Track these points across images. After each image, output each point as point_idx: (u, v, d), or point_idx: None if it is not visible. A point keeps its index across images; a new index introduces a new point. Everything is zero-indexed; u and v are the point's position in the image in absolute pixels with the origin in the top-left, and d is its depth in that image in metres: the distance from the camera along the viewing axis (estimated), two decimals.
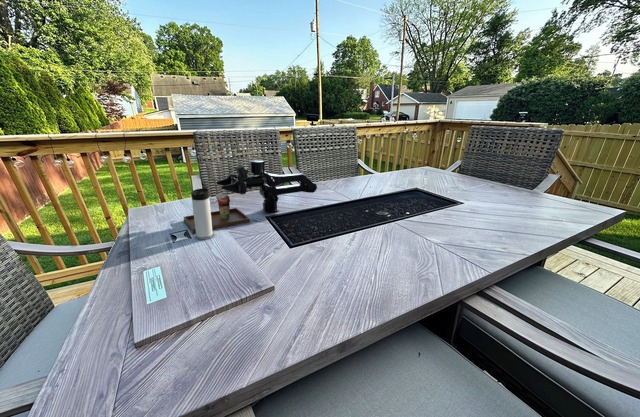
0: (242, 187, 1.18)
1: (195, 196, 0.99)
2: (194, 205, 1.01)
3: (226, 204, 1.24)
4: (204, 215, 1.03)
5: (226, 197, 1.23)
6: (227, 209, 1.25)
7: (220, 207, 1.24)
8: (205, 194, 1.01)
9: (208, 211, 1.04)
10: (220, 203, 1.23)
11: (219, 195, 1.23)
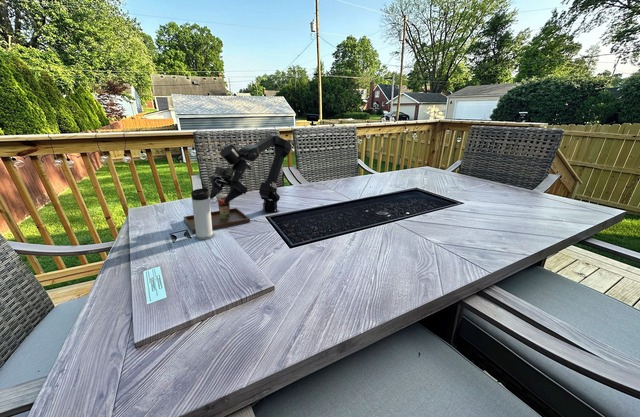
0: (242, 188, 1.08)
1: (195, 196, 0.99)
2: (194, 205, 1.01)
3: (226, 204, 1.24)
4: (204, 215, 1.03)
5: None
6: (227, 209, 1.25)
7: (220, 207, 1.24)
8: (205, 194, 1.01)
9: (208, 211, 1.04)
10: (220, 203, 1.23)
11: (219, 195, 1.23)
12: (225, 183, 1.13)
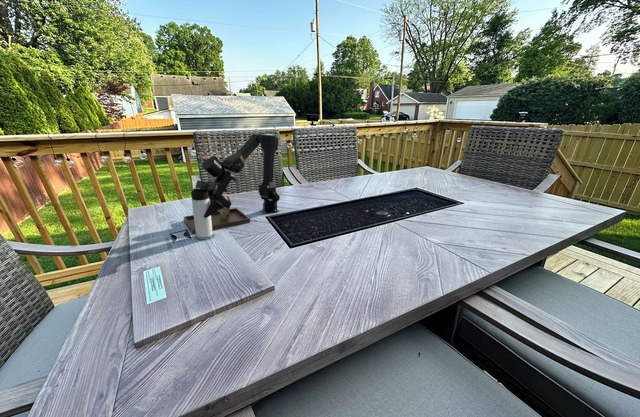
0: (225, 203, 1.02)
1: (195, 196, 0.99)
2: (194, 205, 1.01)
3: None
4: None
5: (226, 197, 1.23)
6: (227, 209, 1.25)
7: None
8: (205, 194, 1.01)
9: None
10: None
11: None
12: None
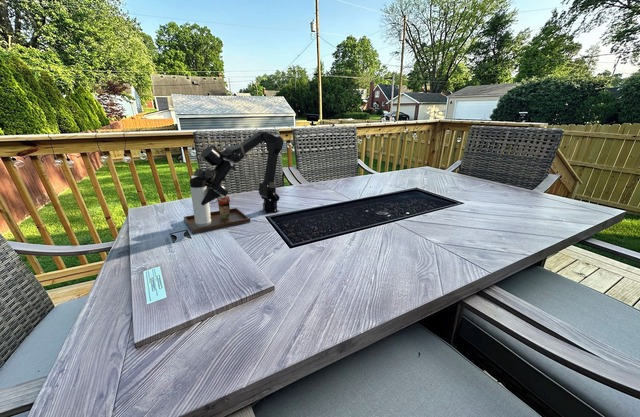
0: (221, 191, 1.04)
1: (192, 183, 1.02)
2: (192, 192, 1.04)
3: (226, 204, 1.24)
4: None
5: (226, 197, 1.23)
6: (227, 209, 1.25)
7: (220, 207, 1.24)
8: (202, 182, 1.03)
9: None
10: (220, 203, 1.23)
11: None
12: (207, 185, 1.10)
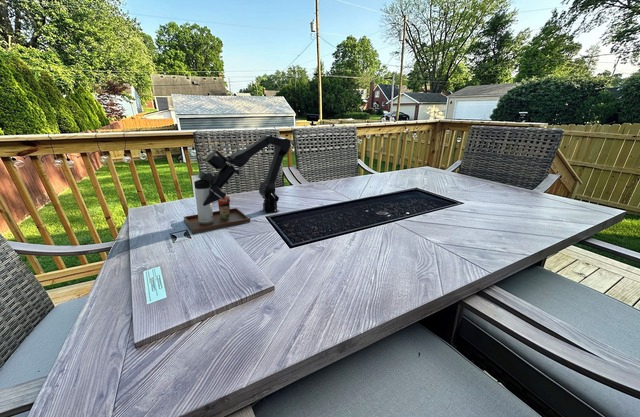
0: (218, 193, 1.11)
1: (196, 185, 1.12)
2: (195, 193, 1.14)
3: (226, 204, 1.24)
4: (203, 202, 1.15)
5: (226, 197, 1.23)
6: (227, 209, 1.25)
7: (220, 207, 1.24)
8: (204, 184, 1.13)
9: None
10: (220, 203, 1.23)
11: None
12: (211, 186, 1.19)
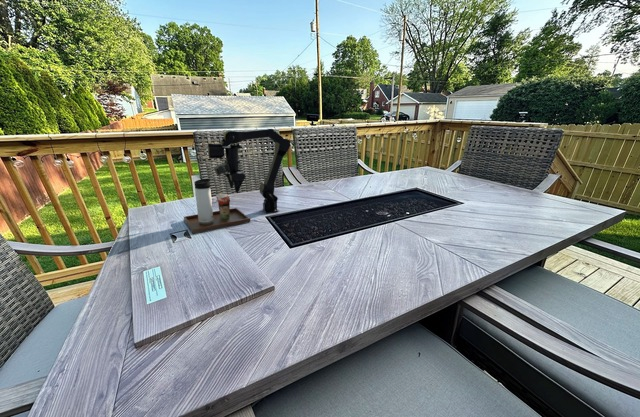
0: (238, 178, 1.18)
1: (196, 185, 1.12)
2: None
3: (226, 204, 1.24)
4: (203, 203, 1.15)
5: (226, 197, 1.23)
6: (227, 209, 1.25)
7: (220, 207, 1.24)
8: (204, 184, 1.13)
9: (207, 199, 1.15)
10: (220, 203, 1.23)
11: (219, 195, 1.23)
12: (231, 172, 1.26)
